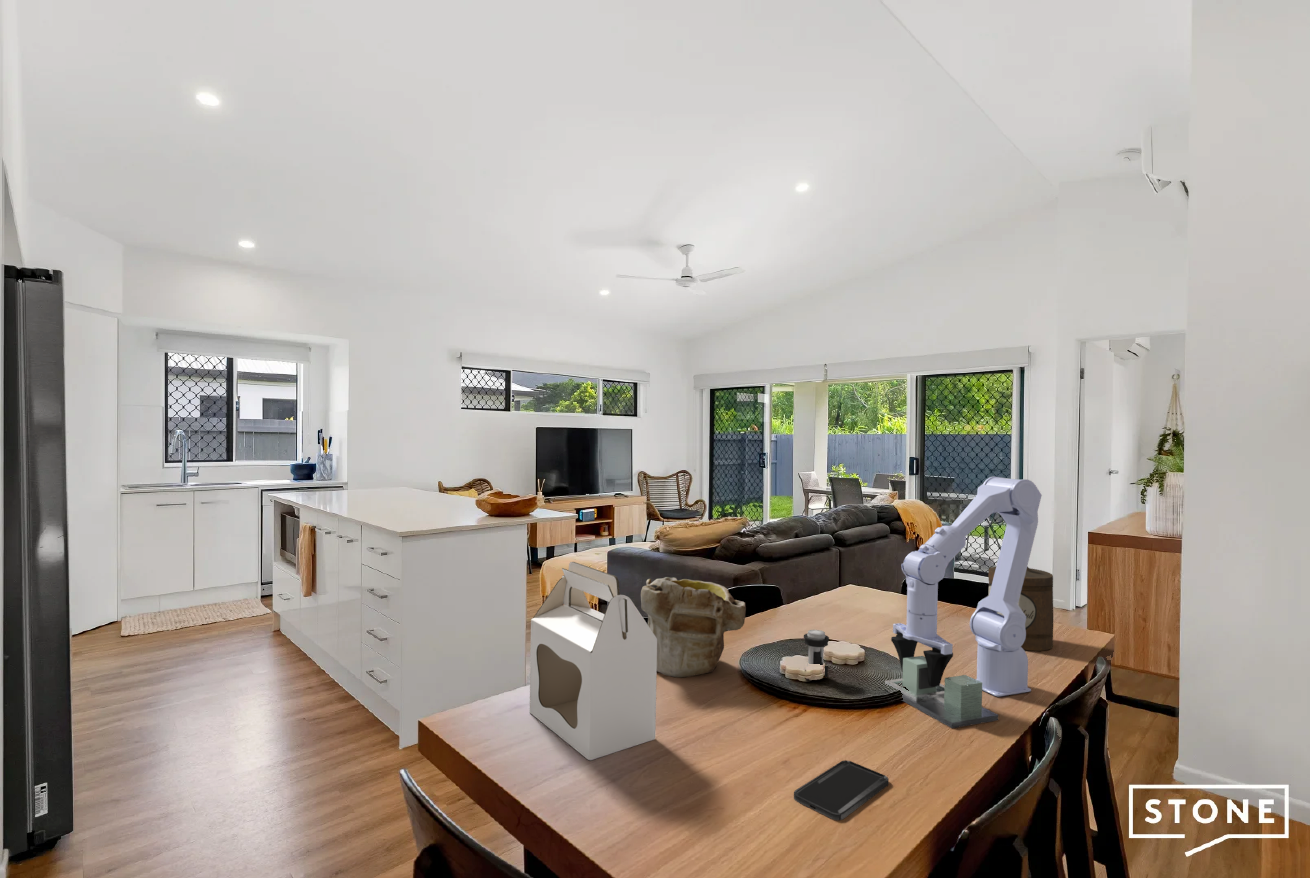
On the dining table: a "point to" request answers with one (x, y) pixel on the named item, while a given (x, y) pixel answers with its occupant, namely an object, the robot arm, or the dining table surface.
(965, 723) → the rail
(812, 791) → the phone
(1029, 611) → the wooden container
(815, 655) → the push button
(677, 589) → the ceramic vessel
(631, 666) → the gable box
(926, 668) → the block
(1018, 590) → the robot arm
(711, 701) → the dining table surface
